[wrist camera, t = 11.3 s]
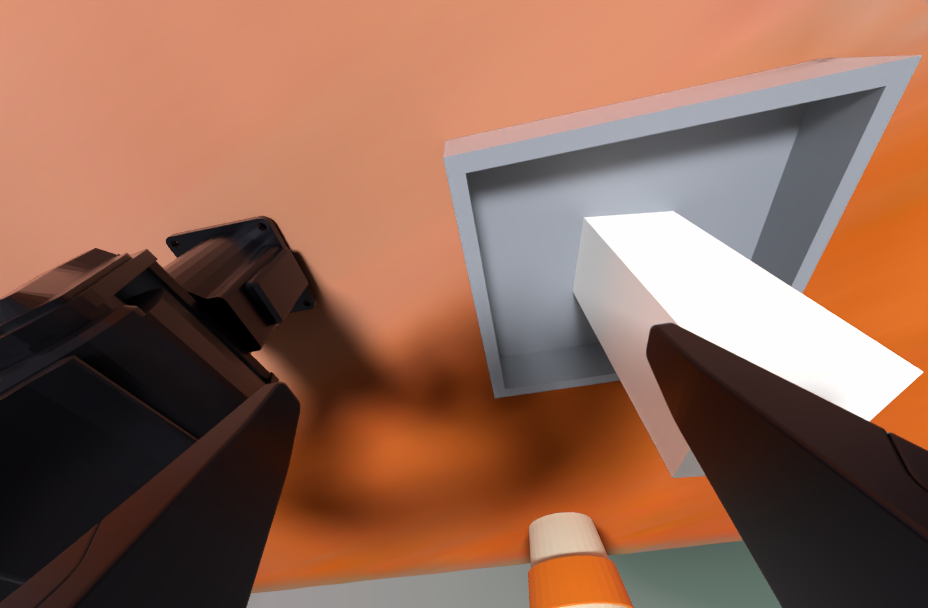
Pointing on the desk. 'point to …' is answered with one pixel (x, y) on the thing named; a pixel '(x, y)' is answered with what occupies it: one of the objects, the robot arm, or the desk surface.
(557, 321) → the tray
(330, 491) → the desk surface
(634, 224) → the cream block
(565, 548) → the reusable coffee cup
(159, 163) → the desk surface
